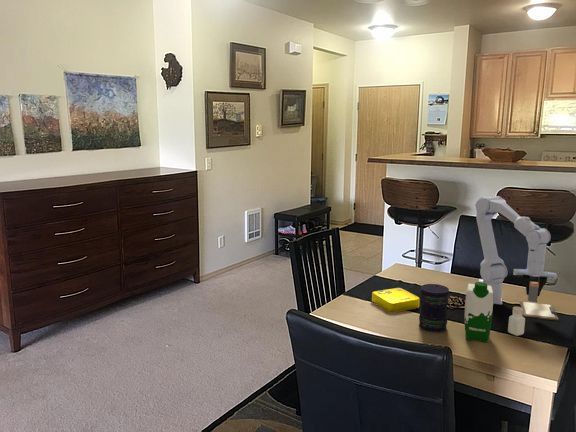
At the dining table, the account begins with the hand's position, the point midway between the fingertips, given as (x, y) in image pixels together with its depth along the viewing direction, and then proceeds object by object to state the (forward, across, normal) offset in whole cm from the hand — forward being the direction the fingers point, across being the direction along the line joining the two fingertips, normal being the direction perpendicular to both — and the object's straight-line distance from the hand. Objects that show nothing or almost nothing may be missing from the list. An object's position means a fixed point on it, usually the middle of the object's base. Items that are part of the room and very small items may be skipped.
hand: (532, 294), depth 182 cm
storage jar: (+9, -34, -24) cm, 43 cm away
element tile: (+10, -51, -6) cm, 52 cm away
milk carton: (+9, -19, -27) cm, 35 cm away
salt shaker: (+9, -6, -19) cm, 22 cm away
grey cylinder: (+2, 0, 0) cm, 2 cm away
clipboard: (+9, +3, +7) cm, 12 cm away
